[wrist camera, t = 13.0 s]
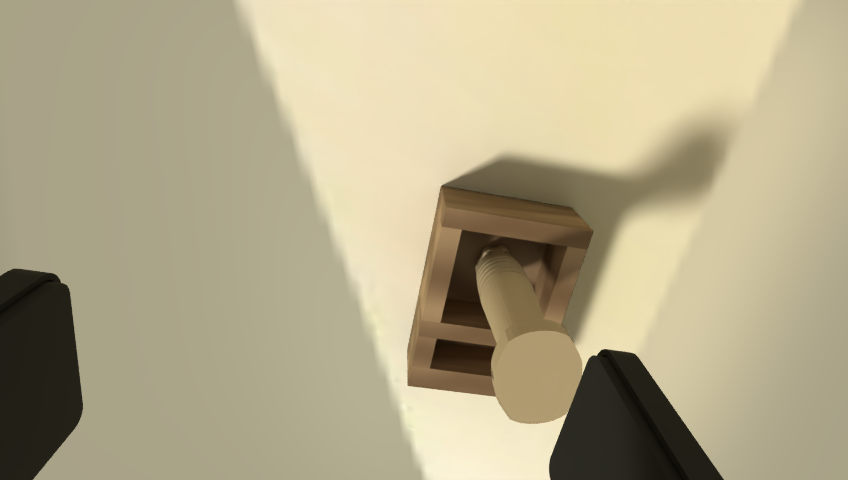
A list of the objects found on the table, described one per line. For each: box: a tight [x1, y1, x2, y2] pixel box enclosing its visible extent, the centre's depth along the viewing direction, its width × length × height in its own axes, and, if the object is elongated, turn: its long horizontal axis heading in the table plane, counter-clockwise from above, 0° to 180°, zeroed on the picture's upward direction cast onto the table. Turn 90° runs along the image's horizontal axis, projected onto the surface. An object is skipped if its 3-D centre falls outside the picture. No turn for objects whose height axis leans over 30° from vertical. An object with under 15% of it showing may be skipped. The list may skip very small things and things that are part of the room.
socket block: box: [407, 186, 593, 397], centre depth 41 cm, size 16×11×5 cm
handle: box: [475, 245, 582, 424], centre depth 34 cm, size 5×6×15 cm
